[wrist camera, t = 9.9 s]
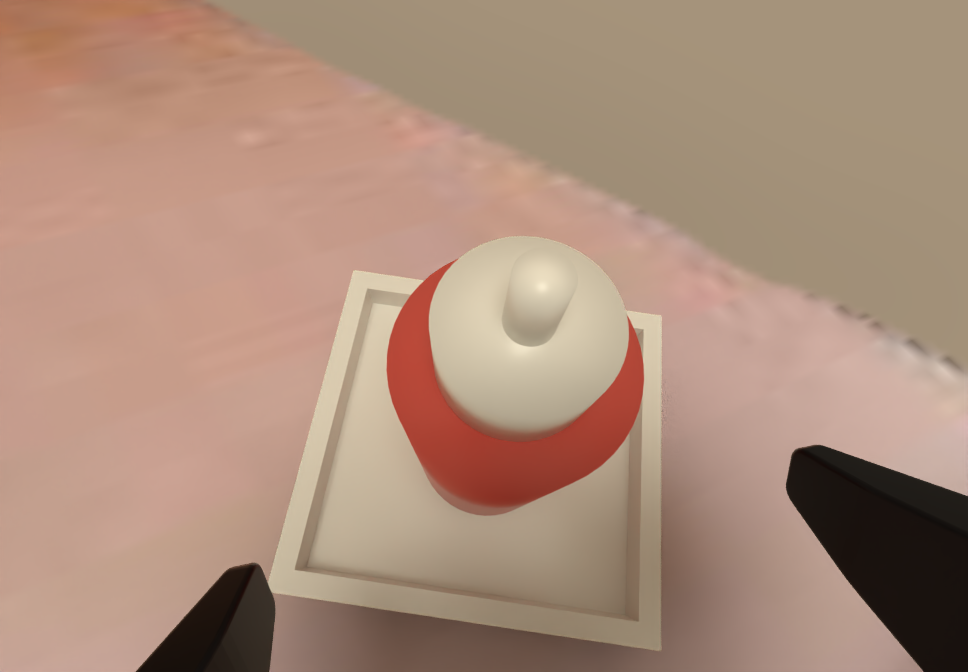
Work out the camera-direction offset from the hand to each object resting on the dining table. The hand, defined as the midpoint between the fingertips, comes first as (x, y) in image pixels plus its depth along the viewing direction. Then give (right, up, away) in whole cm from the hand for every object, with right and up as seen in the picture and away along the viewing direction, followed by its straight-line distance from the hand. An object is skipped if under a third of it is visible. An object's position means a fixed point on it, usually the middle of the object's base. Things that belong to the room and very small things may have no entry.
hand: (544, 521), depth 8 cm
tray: (-1, -2, +14) cm, 14 cm away
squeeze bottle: (-1, -2, +13) cm, 13 cm away
